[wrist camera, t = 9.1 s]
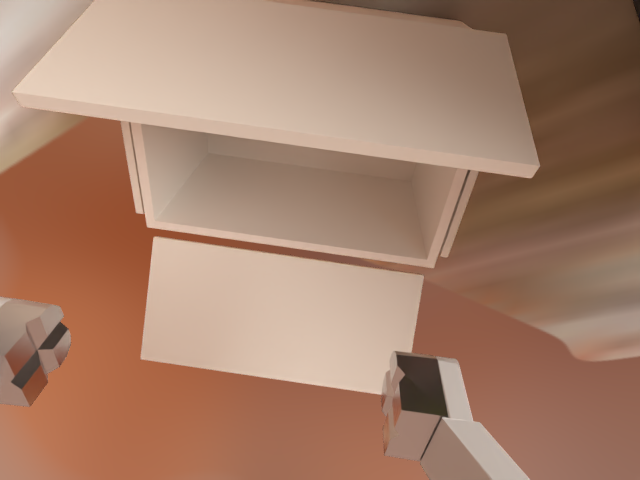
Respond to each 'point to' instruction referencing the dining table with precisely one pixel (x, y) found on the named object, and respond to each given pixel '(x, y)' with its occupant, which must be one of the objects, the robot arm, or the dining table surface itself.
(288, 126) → the flap
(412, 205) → the carton
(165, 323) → the flap
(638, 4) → the router box
